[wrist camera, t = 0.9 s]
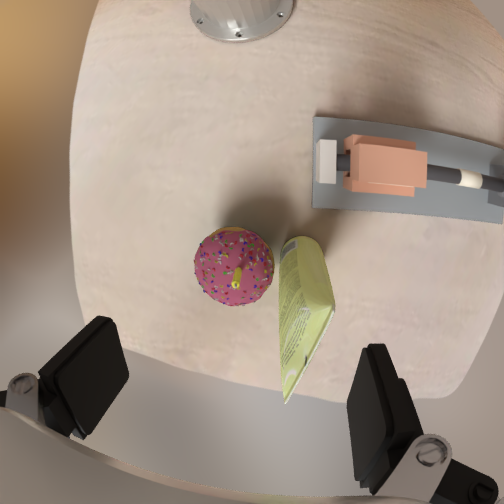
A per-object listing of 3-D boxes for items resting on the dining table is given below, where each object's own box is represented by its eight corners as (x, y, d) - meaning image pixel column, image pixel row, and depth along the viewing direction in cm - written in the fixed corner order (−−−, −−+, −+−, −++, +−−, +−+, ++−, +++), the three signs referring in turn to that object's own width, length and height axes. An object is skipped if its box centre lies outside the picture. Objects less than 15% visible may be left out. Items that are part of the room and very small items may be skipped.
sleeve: (342, 187, 28) (358, 194, 21) (343, 139, 27) (359, 130, 20) (396, 191, 27) (425, 200, 20) (397, 145, 26) (427, 140, 19)
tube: (330, 271, 34) (361, 384, 15) (291, 286, 35) (283, 407, 16) (313, 228, 32) (335, 309, 14) (272, 244, 34) (245, 340, 15)
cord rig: (311, 206, 32) (317, 219, 24) (312, 118, 29) (318, 102, 21) (498, 222, 28) (533, 237, 20) (502, 150, 25) (539, 151, 18)
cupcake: (250, 205, 33) (226, 226, 21) (291, 265, 34) (289, 314, 23) (193, 245, 35) (148, 282, 24) (233, 299, 36) (208, 355, 25)
